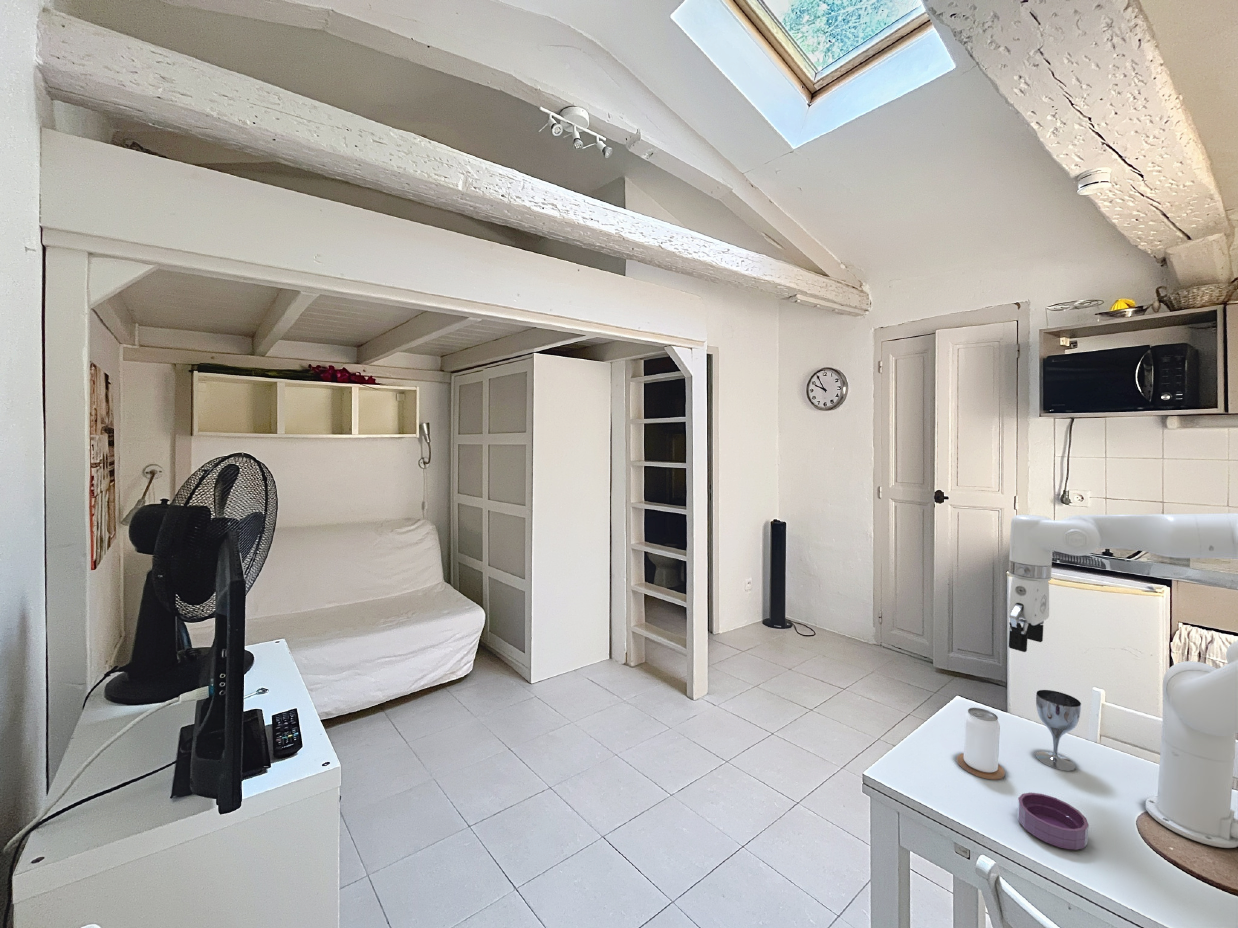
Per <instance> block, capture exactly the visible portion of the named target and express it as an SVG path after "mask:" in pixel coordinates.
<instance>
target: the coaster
mask: <svg viewBox="0 0 1238 928" xmlns="http://www.w3.org/2000/svg"><path fill="white" fill-rule="evenodd" d="M956 762H957V764H958V766H959V767H960V768H961V769H962V770H964V771H966V772H967V773H968V774H971V775H973V776H976V777H978V778H982V779H987V780H993V781H994V780H1001V779H1003V778H1004V777H1005V775H1006V772H1005V769H1004V767H1002V766H1001V765H1000V764H999V763H998V770H997V771H995V772H994V773H984V772H980V771H977V770H975V769H973V768H971V767H970V766H968V765H967V764H966V762H965V761H964V752H963V753H960V754H958V755H957V757H956Z"/></svg>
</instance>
